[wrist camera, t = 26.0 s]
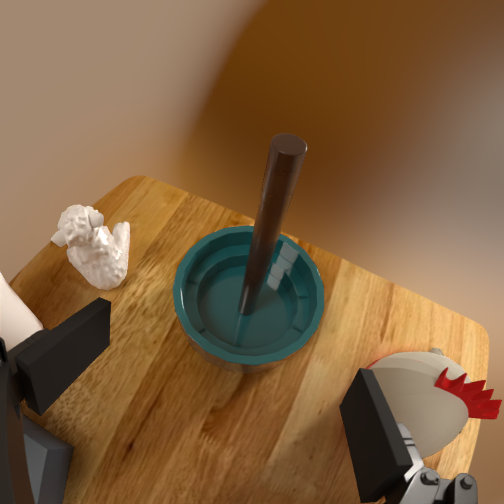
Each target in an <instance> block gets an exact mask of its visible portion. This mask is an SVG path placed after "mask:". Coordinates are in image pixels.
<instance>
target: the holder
mask: <svg viewBox="0 0 504 504" xmlns="http://www.w3.org/2000/svg"><path fill="white" fill-rule="evenodd" d="M22 421H23V434H24V444H25V452H26V459H27V466H28V472H29V478H30V483H31V488H32V492H33V497H34V501H35V504H62V503H63V497H64V492H65V486H66V481H67V476H68V472H69V467H70V463H71V459H72V454H73V450H74V446H72V445H70V444H69V443H67V442H65V441H63V440H62V439H60V438H58V437H57V436H55V435H54V434H52V433H50V432H49V431H47V430H46V429H44V428H43V427H41V426H40V425H38V424H37V423H35V422H34V421H32V420H31V419H29V418H28V417H27V416H25V415H24V414H22Z"/></svg>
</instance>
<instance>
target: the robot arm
mask: <svg viewBox="0 0 504 504" xmlns="http://www.w3.org/2000/svg"><path fill="white" fill-rule="evenodd" d="M110 314H111V302H110V301H108V300H105V299H103V298H100V297H99V298H97V299H96V300H94V301H93V302H91V303H90V304H88V305H87V306H85V307H84V308H83V309H81V310H80V311H78V312H77V313H75V314H74V315H72V316H71V317H69V318H68V319H66V320H65V321H64V322H62V323H61V324H59V325H58V326H56V327H55V328H54V329H52V330H49V329H47V328H46V329H43V330H39V331H37V332H35V333H34V334H32V335H31V336H30V337H28V338H26V339H25V340H24V341H22V342H21V343H19V344H18V345H16V346H15V347H13V348H12V349H11V350H9V351H8V352H7V351H6V346H5V341H4V340H3V339H2V338H1V337H0V504H35V501H34V497H33V492H32V488H31V483H30V478H29V472H28V466H27V459H26V452H25V444H24V434H23V421H22V406H21V403H20V402H21V401H22V400H23V399H24V398H25V399H26V403H27V406H28V408H30V409H31V410H33V411H34V412H36V413H37V414H39V415H40V416H41V415H42V414H43V413H44V412H45V411H46V410H47V409H48V408H49V407H50V406H51V405H52V404H53V403H54V402H55V401H56V400H57V398H58V397H59V396H60V395H61V394H62V393H63V392H64V391H65V390H66V389H67V388H68V387H69V386H70V385H71V384H72V383H73V382H74V381H75V380H76V379H77V378H78V377H79V376H80V375H81V373H82V372H83V371H84V370H85V369H86V368H87V367H88V366H89V365H90V364H91V363H92V362H93V361H94V360H95V359H96V358H97V357H98V356H99V355H100V354H101V353H102V352H103V351H104V350H105V349H106V348H107V347H108V346H109V345H110ZM339 408H340V412H341V416H342V420H343V424H344V428H345V432H346V437H347V441H348V445H349V450H350V454H351V459H352V463H353V468H354V472H355V477H356V482H357V487H358V492H359V497H360V502H361V503H370V502H377V501H378V500H379V499H380V498H382V497H383V496H384V495H385V499H386V502H385V503H383V504H478V500H477V499H478V498H477V483H476V480H475V479H474V477H472V476H471V475H470V474H467V473H461V474H458V475H457V476H456V477H455V478H454V479H453V480H448V479H441V478H440V476H439V474H438V473H437V472H436V471H435V470H433V469H431V468H428V467H425V465H424V463H423V461H422V458H421V456H420V454H419V452H418V449H417V447H416V446H415V443H414V440H412V436H411V434H410V432H409V430H408V429H407V428H406V427H405V426H404V424H403V423H396V421H395V418H394V416H393V414H392V412H391V409H390V407H389V405H388V403H387V401H386V398H385V396H384V394H383V392H382V390H381V388H380V385H379V383H378V381H377V379H376V377H375V375H374V373H373V371H372V370H370V369H363V368H359V370H358V372H357V374H356V376H355V378H354V380H353V382H352V384H351V386H350V388H349V390H348V391H347V393H346V395H345V397H344V399H343V401H342V403H341V404H340V406H339Z"/></svg>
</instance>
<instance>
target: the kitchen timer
mask: <svg viewBox="0 0 504 504" xmlns="http://www.w3.org/2000/svg"><path fill="white" fill-rule="evenodd" d="M366 369H370V370H372V371H373V373H374V375H375V377H376V379H377V381H378V383H379V385H380V388H381V390H382V392H383V394H384V396H385V398H386V401H387V403H388V405H389V407H390V409H391V412H392V414H393V416H394V418H395V421H396V423H403V424H404V426H405V427H406V428H407V429H408V430H409V432H410V434H411V436H412V440H414V443H415V446H416V447H417V449H418V452H419V454H420V456H421V458H422V459H423V458H426V457H428V456H431V455H433V454H435V453H436V452H438V451H439V450H441V449H442V448H444V447H445V446H446V445H448V444H449V443H450V442H452V441H453V440H454V439H455V438H456V436H457V435H458V434H460V432H461V431H462V429H463V427H464V426H465V424H466V423H467V420H468V418H478V419H496V418H497V415H498V413H499V407H500V405H501V402H502V400H490V399H491V396H492V394H493V391H494V389H490V390H484V391H482V390H483V387H484V385H485V382H486V380H481V381H476V382H471V381H470V379H469V376H468V375H467V373H466V372H465V371H464V370H463V368H462V367H461V366H460V365H459V364H458V363H455V362H454V361H452V360H451V359H449V358H447V357H445V356H444V354H443V353H442V351H441V350H440V349H439V348H432V349H431V350H430V351H429V352H418V351H414V352H400V353H395V354H392V355H389V356H387V357H384V358H382V359H379V360H377V361H375V362H373V363H372V364H371V365H369V366H368V367H367V368H366Z"/></svg>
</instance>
